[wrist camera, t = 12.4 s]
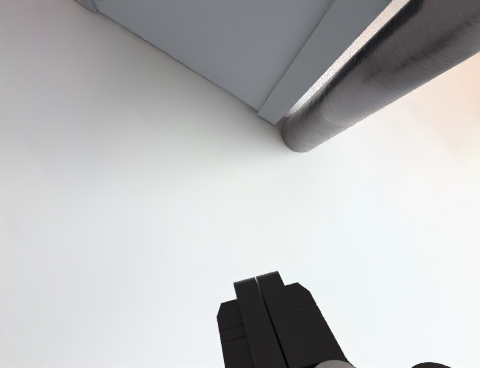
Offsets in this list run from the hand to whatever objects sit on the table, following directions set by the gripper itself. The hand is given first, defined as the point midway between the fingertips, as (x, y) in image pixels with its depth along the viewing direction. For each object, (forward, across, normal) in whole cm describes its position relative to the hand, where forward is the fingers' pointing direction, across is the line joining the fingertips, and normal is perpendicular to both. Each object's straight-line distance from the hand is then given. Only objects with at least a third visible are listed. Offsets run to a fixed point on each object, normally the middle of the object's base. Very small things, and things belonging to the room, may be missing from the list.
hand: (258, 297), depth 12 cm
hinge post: (+17, -7, 0) cm, 19 cm away
